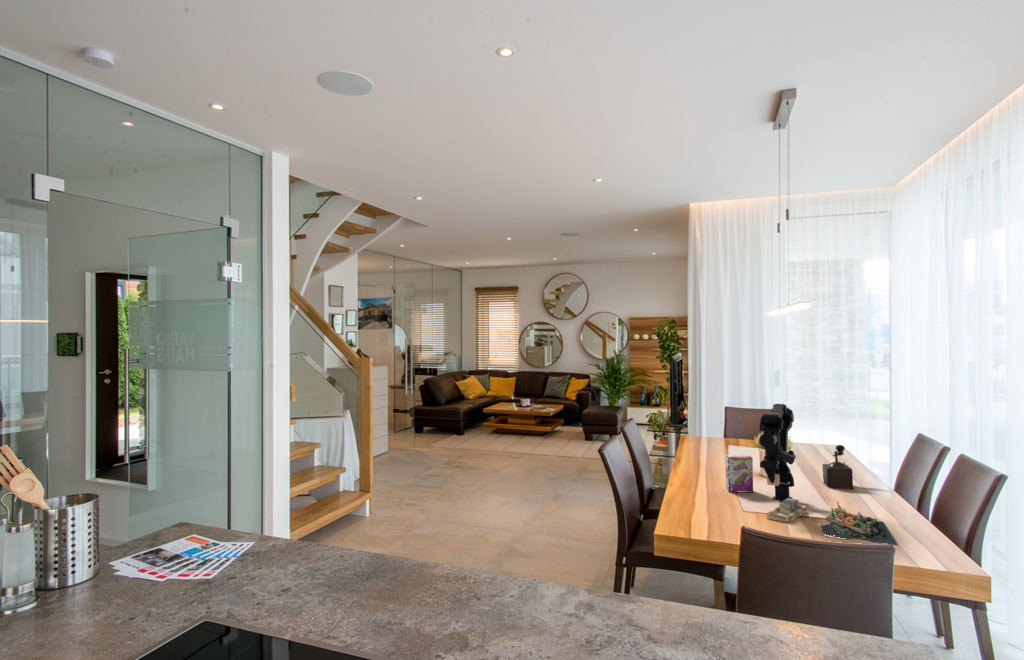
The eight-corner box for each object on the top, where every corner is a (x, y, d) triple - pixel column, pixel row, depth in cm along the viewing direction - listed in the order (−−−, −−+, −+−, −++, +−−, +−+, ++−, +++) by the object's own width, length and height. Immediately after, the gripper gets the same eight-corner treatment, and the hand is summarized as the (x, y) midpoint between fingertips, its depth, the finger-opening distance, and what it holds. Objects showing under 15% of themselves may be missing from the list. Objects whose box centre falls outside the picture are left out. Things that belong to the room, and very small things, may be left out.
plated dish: (806, 511, 222) (805, 494, 222) (887, 520, 211) (887, 501, 211) (815, 541, 190) (815, 521, 190) (912, 553, 179) (911, 531, 179)
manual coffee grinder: (855, 489, 250) (853, 450, 251) (828, 488, 253) (827, 449, 254) (845, 481, 265) (843, 444, 266) (819, 480, 268) (818, 443, 269)
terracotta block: (769, 482, 228) (769, 473, 228) (779, 483, 225) (779, 474, 226) (767, 484, 225) (767, 474, 225) (777, 485, 222) (777, 476, 222)
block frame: (785, 507, 226) (784, 495, 226) (806, 511, 220) (805, 499, 221) (766, 518, 213) (766, 506, 213) (788, 523, 207) (787, 510, 207)
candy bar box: (729, 492, 250) (727, 457, 251) (725, 489, 255) (724, 454, 256) (754, 492, 249) (752, 456, 250) (750, 489, 254) (749, 454, 255)
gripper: (789, 449, 213) (790, 489, 213) (797, 442, 228) (799, 479, 228) (759, 446, 220) (760, 485, 219) (769, 440, 235) (770, 476, 234)
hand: (773, 481), depth 225 cm, fingers closed on terracotta block, 4 cm apart
